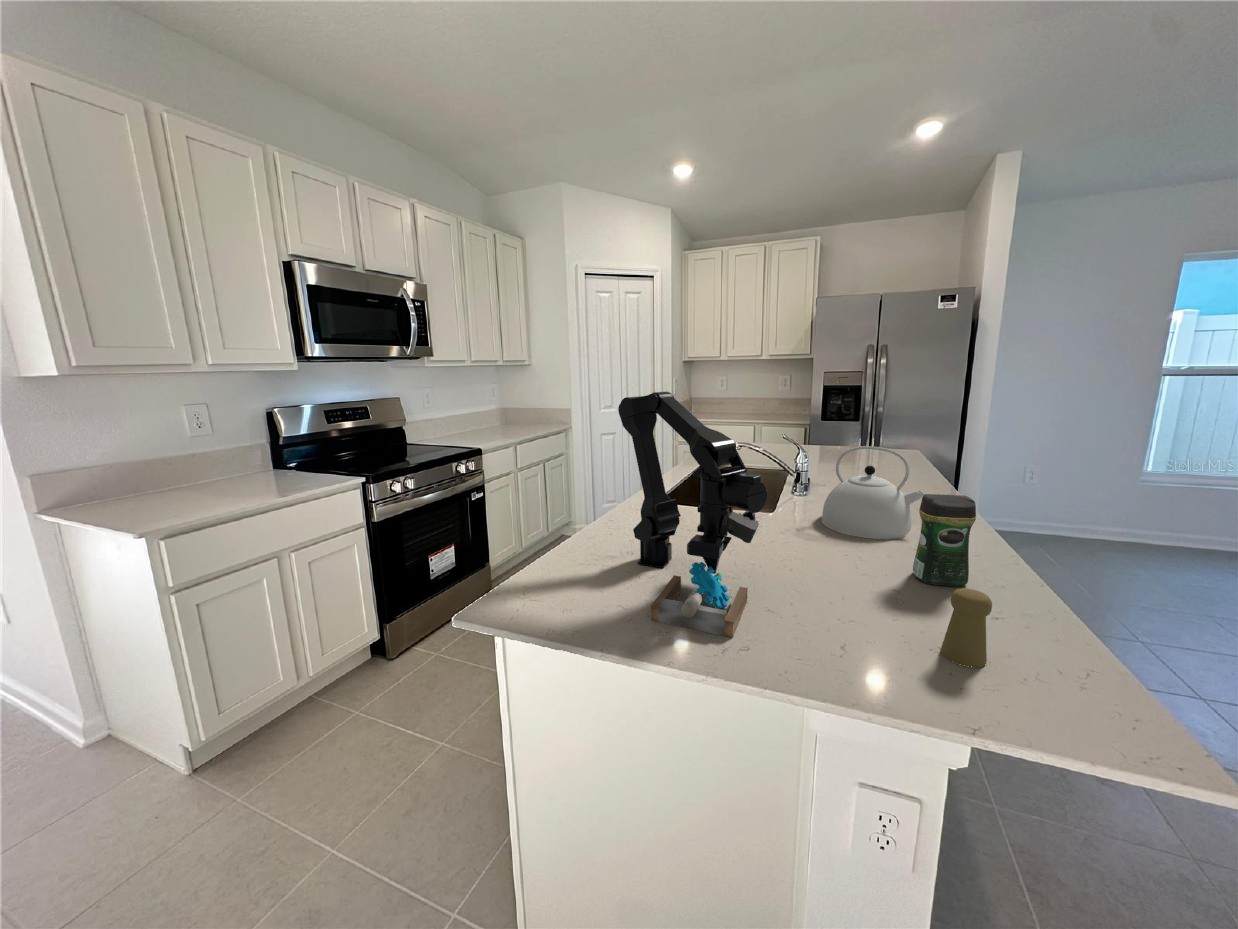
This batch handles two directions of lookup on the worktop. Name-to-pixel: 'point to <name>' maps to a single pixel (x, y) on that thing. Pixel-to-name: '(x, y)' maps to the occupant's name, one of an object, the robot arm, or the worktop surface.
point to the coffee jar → (944, 539)
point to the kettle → (870, 504)
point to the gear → (709, 585)
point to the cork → (967, 628)
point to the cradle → (697, 611)
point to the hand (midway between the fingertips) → (713, 572)
